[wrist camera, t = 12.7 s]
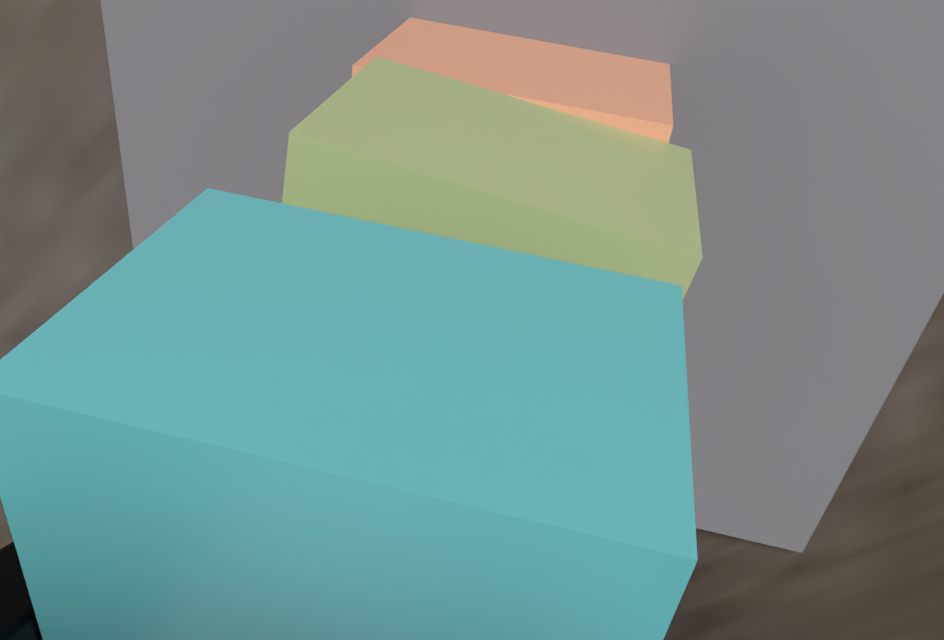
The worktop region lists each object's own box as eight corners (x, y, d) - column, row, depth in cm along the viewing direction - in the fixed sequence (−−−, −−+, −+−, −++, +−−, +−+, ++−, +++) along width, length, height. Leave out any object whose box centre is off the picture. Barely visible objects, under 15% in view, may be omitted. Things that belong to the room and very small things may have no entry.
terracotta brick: (590, 362, 19) (579, 462, 16) (386, 317, 19) (338, 407, 16) (669, 64, 15) (673, 125, 12) (409, 17, 15) (352, 65, 12)
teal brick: (554, 684, 12) (520, 969, 9) (235, 602, 12) (104, 848, 9) (681, 285, 8) (698, 559, 5) (208, 188, 8) (-33, 387, 5)
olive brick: (557, 468, 16) (537, 614, 13) (322, 394, 16) (248, 522, 13) (690, 149, 12) (703, 257, 9) (376, 55, 12) (289, 132, 9)
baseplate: (798, 535, 21) (801, 552, 20) (164, 388, 23) (153, 401, 22) (1169, -165, 12) (1192, -164, 12) (78, -324, 14) (57, -328, 13)
